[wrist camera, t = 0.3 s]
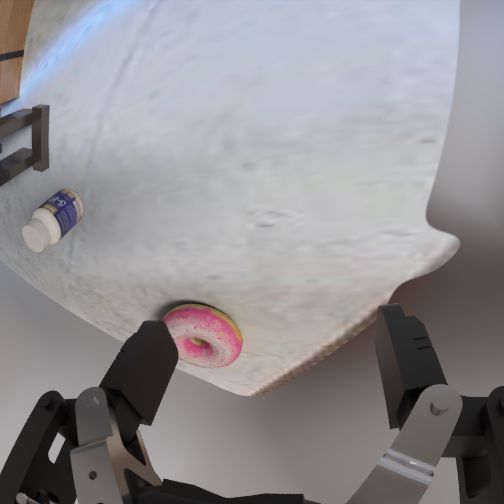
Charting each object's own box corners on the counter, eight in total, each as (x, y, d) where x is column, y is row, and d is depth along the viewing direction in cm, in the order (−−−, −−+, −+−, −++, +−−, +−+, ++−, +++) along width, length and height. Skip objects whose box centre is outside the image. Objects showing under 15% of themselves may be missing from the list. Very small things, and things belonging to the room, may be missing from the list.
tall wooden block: (25, -21, 13) (6, -22, 10) (43, -28, 13) (23, -30, 10) (4, 96, 24) (-15, 104, 21) (19, 96, 25) (-2, 104, 21)
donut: (179, 282, 40) (168, 308, 36) (260, 320, 43) (257, 347, 39) (156, 329, 48) (147, 351, 44) (224, 358, 51) (219, 381, 47)
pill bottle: (78, 186, 33) (37, 220, 25) (89, 220, 36) (53, 258, 28) (53, 189, 33) (13, 221, 26) (63, 220, 36) (28, 256, 29)
